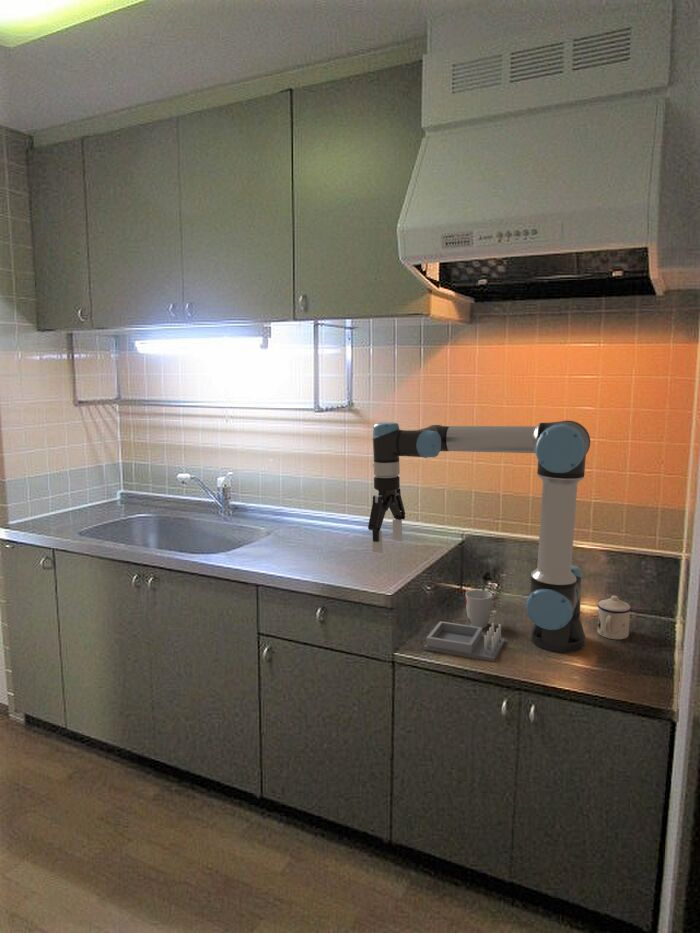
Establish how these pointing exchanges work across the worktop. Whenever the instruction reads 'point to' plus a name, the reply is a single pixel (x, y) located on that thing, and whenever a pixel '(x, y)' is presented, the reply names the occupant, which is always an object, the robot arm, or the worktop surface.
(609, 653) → the worktop surface
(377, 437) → the robot arm
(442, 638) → the dish rack
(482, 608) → the cup
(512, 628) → the worktop surface
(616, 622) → the teacup with lid
